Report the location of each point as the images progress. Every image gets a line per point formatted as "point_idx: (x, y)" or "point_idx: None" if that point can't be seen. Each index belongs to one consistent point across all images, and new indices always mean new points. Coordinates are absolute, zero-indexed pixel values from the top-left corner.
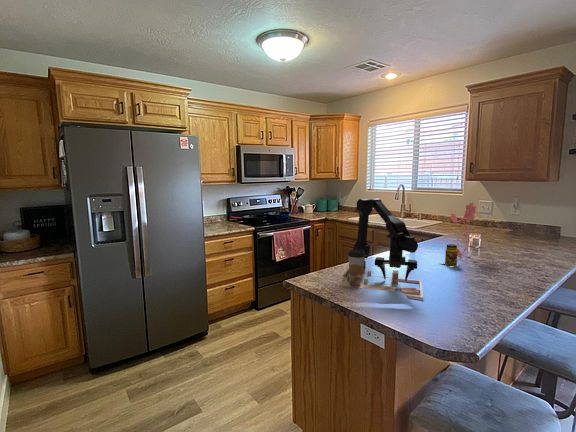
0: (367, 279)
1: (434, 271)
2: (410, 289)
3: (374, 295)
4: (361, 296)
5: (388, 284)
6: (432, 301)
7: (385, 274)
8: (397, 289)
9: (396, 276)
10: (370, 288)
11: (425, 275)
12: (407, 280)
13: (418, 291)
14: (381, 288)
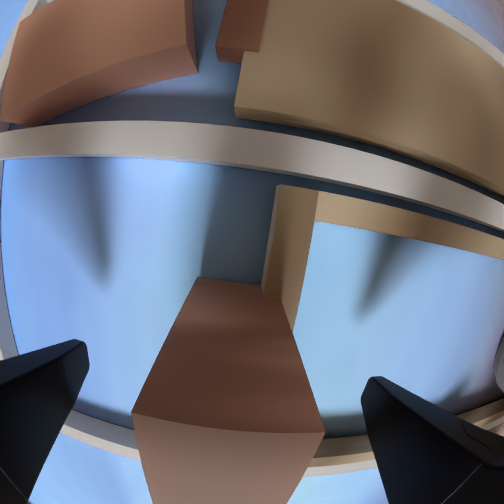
0: None
1: (49, 501)
2: (62, 40)
3: (438, 4)
4: (491, 15)
5: (348, 219)
6: (11, 10)
7: (382, 447)
8: (227, 11)
9: (195, 365)
10: (501, 72)
11: (56, 484)
12: (104, 433)
13: (18, 32)
14: (428, 52)
